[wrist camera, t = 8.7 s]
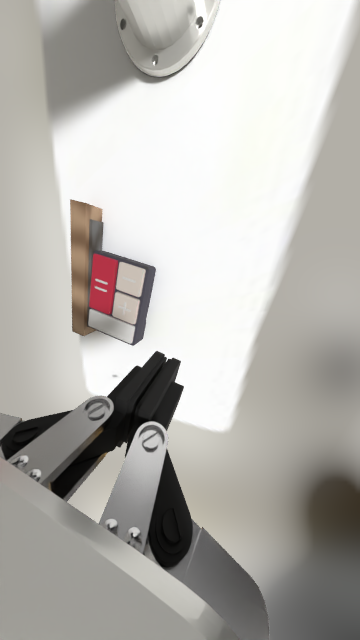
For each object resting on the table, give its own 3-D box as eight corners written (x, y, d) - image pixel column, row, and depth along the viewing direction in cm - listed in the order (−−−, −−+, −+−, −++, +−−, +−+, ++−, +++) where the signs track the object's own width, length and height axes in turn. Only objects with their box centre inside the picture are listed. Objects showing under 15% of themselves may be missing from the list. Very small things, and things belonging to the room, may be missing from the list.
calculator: (147, 267, 27) (131, 348, 32) (158, 267, 31) (143, 339, 36) (89, 248, 29) (84, 327, 34) (107, 251, 33) (100, 321, 38)
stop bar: (88, 205, 30) (70, 199, 27) (105, 209, 29) (88, 203, 26) (85, 325, 40) (72, 331, 36) (98, 330, 39) (86, 337, 36)
